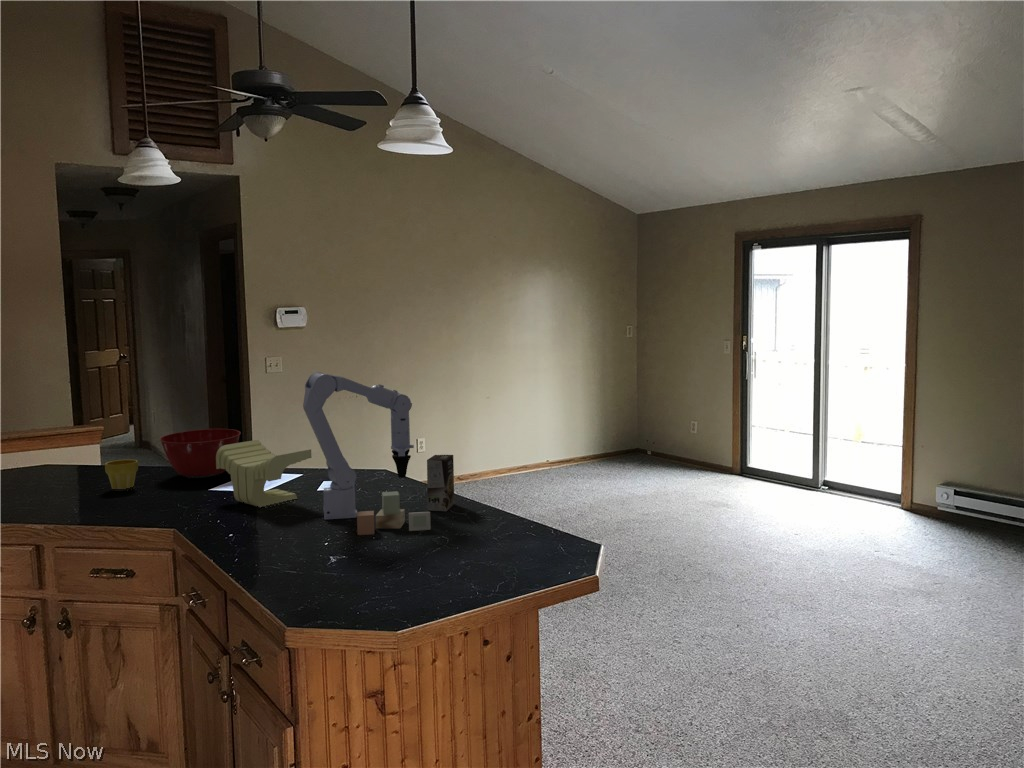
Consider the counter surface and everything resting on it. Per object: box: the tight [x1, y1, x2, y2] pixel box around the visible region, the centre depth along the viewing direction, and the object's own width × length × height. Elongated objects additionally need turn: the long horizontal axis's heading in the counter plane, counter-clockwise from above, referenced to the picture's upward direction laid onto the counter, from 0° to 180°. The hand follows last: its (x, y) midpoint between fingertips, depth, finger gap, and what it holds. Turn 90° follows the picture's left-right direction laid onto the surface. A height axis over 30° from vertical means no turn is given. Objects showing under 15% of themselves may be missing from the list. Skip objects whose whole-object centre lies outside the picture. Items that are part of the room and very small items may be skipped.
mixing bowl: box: [159, 428, 241, 477], centre depth 299 cm, size 28×28×16 cm
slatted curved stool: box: [216, 439, 312, 508], centre depth 258 cm, size 30×16×18 cm, turn 50°
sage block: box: [381, 490, 401, 515], centre depth 230 cm, size 5×5×6 cm
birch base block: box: [375, 508, 406, 529], centre depth 230 cm, size 7×7×4 cm
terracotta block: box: [356, 510, 375, 536], centre depth 223 cm, size 5×5×6 cm
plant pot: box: [104, 459, 139, 490], centre depth 278 cm, size 10×10×10 cm
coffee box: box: [426, 454, 455, 512], centre depth 248 cm, size 9×6×16 cm
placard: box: [408, 511, 432, 532], centre depth 224 cm, size 6×1×5 cm, turn 100°
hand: (401, 474), depth 248 cm, fingers open, 7 cm apart
